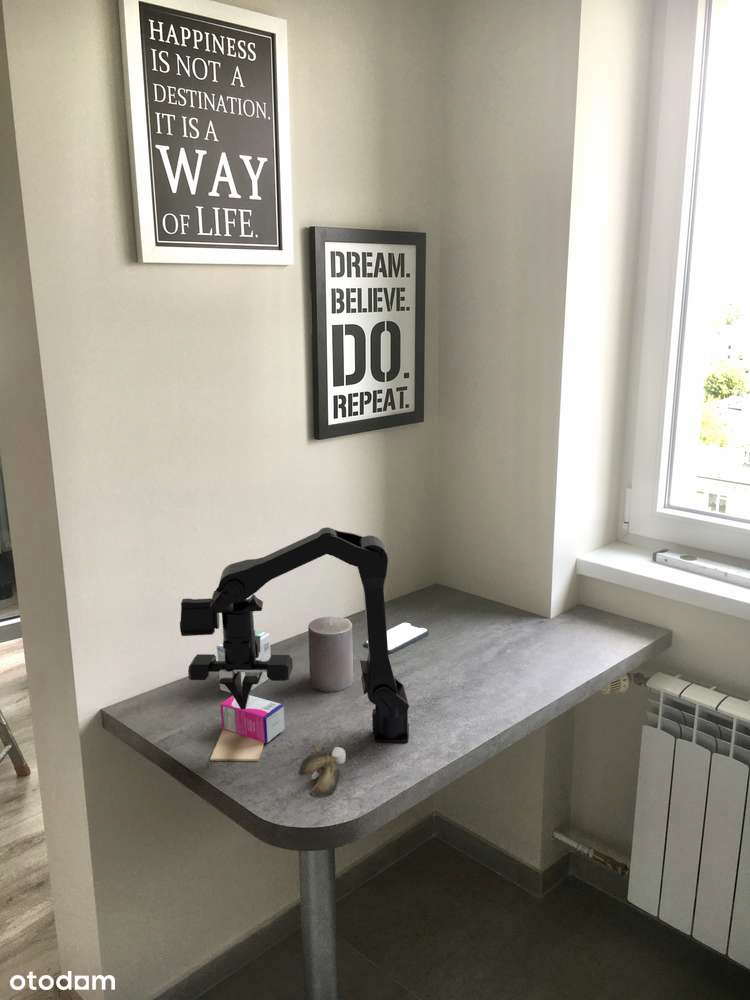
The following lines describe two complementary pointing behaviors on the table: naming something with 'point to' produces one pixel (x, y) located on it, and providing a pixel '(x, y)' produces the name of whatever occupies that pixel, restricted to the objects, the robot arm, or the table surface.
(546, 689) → the table surface
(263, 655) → the light bulb box
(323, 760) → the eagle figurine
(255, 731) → the supplement box
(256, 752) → the pale gold metal plate
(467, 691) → the table surface
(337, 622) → the pillar candle
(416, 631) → the phone case
